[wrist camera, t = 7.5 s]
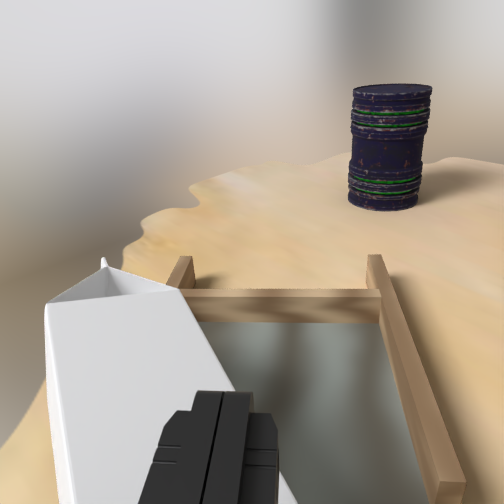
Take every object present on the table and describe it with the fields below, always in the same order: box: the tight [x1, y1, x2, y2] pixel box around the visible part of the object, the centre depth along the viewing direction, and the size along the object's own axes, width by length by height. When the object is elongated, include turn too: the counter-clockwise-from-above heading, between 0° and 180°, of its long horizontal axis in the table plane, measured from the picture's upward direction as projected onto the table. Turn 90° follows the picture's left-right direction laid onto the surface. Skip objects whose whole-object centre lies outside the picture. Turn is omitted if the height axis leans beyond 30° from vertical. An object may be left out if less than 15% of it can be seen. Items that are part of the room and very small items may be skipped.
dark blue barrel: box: [348, 84, 432, 211], centre depth 57 cm, size 10×10×15 cm
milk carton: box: [45, 257, 298, 504], centre depth 20 cm, size 7×7×19 cm
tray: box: [166, 255, 467, 504], centre depth 29 cm, size 19×29×3 cm
